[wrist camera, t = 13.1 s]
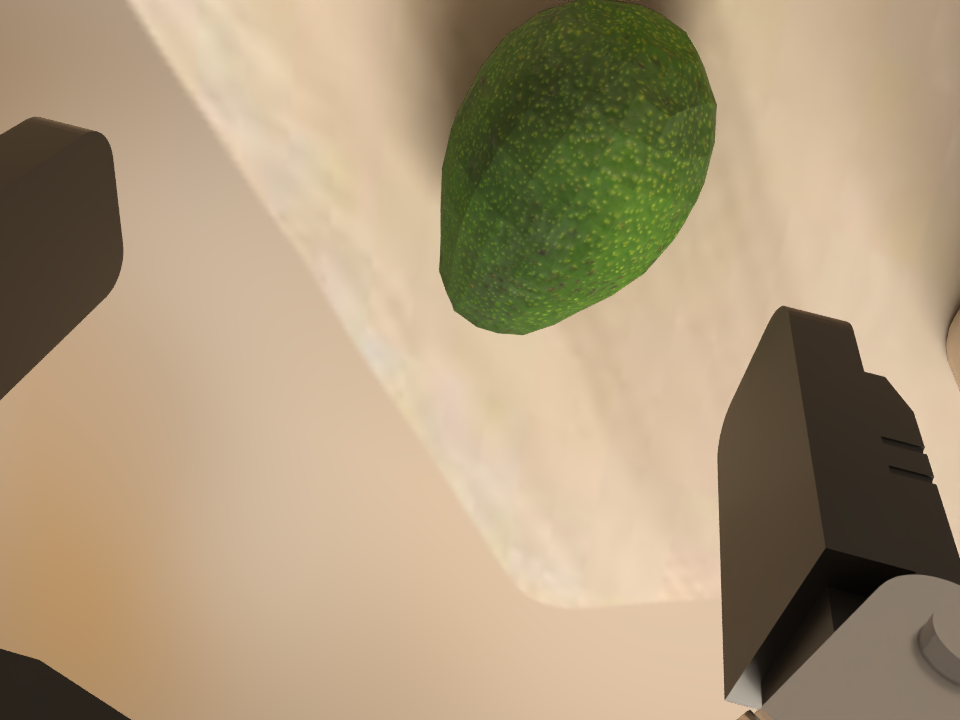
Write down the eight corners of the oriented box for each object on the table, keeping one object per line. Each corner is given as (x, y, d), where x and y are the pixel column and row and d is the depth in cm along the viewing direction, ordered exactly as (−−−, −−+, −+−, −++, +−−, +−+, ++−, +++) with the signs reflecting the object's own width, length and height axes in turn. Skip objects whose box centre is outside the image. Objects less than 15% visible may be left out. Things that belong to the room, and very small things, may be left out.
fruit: (571, 305, 44) (549, 438, 36) (402, 210, 42) (340, 328, 34) (768, 54, 34) (794, 162, 27) (560, -81, 33) (523, -7, 25)
